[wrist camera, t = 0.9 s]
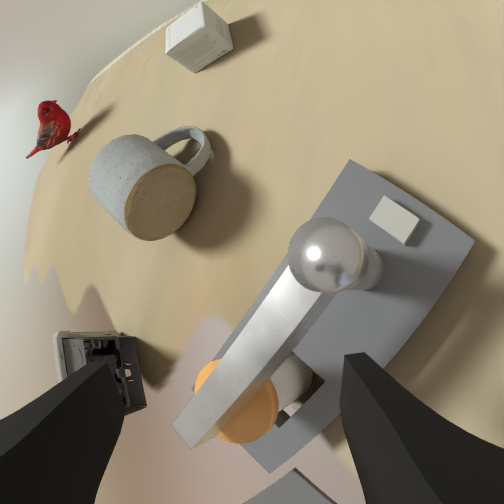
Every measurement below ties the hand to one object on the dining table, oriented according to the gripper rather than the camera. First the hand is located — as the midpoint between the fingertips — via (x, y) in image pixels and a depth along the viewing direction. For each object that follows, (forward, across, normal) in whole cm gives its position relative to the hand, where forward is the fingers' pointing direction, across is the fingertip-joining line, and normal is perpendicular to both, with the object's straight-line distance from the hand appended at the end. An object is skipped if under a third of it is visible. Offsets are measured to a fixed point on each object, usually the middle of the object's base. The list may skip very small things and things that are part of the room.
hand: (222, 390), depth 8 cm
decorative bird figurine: (+43, +32, -14) cm, 55 cm away
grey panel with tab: (+10, -5, +5) cm, 12 cm away
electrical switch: (+17, +13, +13) cm, 25 cm away
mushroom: (+10, -2, +8) cm, 13 cm away
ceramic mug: (+22, +6, -4) cm, 24 cm away
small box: (+28, +2, -20) cm, 35 cm away
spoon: (+5, -1, +2) cm, 5 cm away
